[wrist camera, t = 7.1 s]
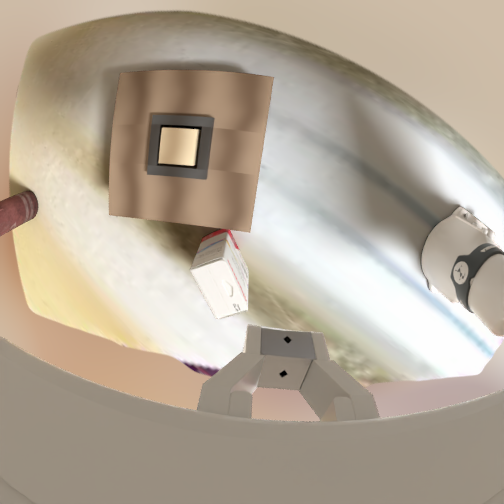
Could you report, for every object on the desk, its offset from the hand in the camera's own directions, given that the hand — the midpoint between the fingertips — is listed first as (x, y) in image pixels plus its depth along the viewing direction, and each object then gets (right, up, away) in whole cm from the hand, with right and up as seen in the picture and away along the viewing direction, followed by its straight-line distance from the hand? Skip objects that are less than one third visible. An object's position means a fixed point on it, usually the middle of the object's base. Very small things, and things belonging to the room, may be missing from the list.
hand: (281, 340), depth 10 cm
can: (-47, +14, +31) cm, 58 cm away
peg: (-10, +19, +27) cm, 35 cm away
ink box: (-5, +3, +35) cm, 35 cm away
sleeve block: (-10, +20, +28) cm, 35 cm away
